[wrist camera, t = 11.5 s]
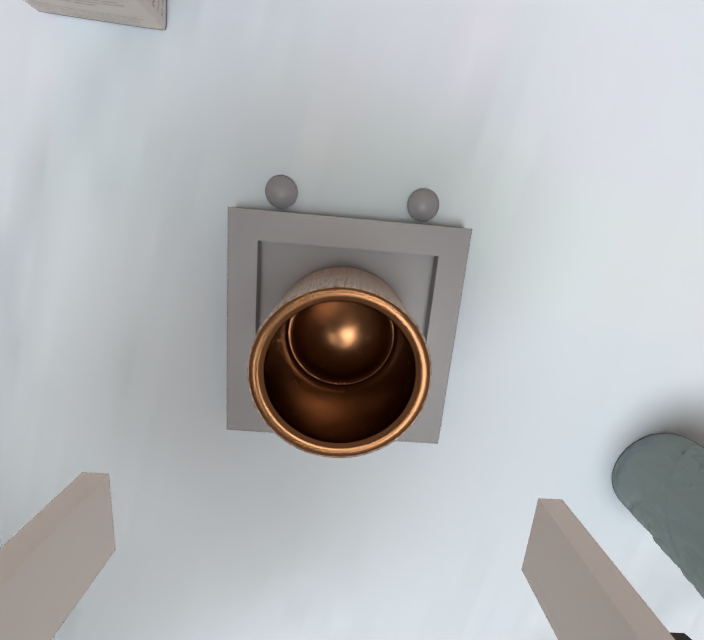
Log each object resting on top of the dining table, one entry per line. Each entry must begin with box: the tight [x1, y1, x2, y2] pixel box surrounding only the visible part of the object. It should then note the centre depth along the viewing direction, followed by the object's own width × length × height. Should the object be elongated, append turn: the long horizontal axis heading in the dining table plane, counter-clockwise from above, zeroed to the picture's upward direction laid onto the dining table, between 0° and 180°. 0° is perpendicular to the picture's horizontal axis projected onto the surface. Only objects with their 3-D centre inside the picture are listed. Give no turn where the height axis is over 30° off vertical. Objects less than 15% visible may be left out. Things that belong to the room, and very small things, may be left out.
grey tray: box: [227, 175, 472, 444], centre depth 30 cm, size 18×21×2 cm
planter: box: [247, 267, 432, 458], centre depth 26 cm, size 11×11×10 cm
